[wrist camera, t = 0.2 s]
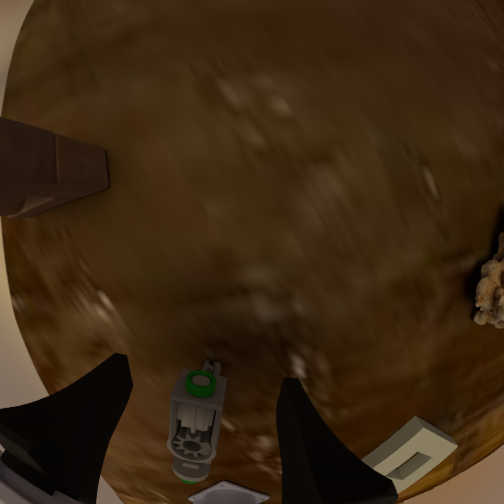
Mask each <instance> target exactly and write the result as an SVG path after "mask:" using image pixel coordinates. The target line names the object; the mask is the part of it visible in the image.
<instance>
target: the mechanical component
mask: <svg viewBox="0 0 504 504" xmlns="http://www.w3.org/2000/svg"><path fill="white" fill-rule="evenodd" d="M220 371H221V364H220V363H219V362H213V366H212V365H210V364H209V361H208V360H206V361H205V362H204V365H203V368H202V371H201V370H190V369H186V368H183V370H182V372H181V374H180V376H179V378H178V380H177V382H176V384H175V387H174V389H173V391H172V393H171V401H170V430H169V438H168V441H167V447H168V449H169V450H170V451H171V452H172V453H173V454H174V459H173V471H174V473H175V474H176V475H177V476H178V477H179V478H180V479H181V480H182V481H183V482H185V483H188V484H194V483H197V482H198V481H202V480H204V479H205V478H206V477H207V476H208V475H209V470H210V465H211V460H212V459H213V458H214V457H215V455H216V450H217V444H218V437H219V431H220V424H221V414H222V409H223V403H224V397H225V390H226V384H227V377H223V376H220Z"/></svg>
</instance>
